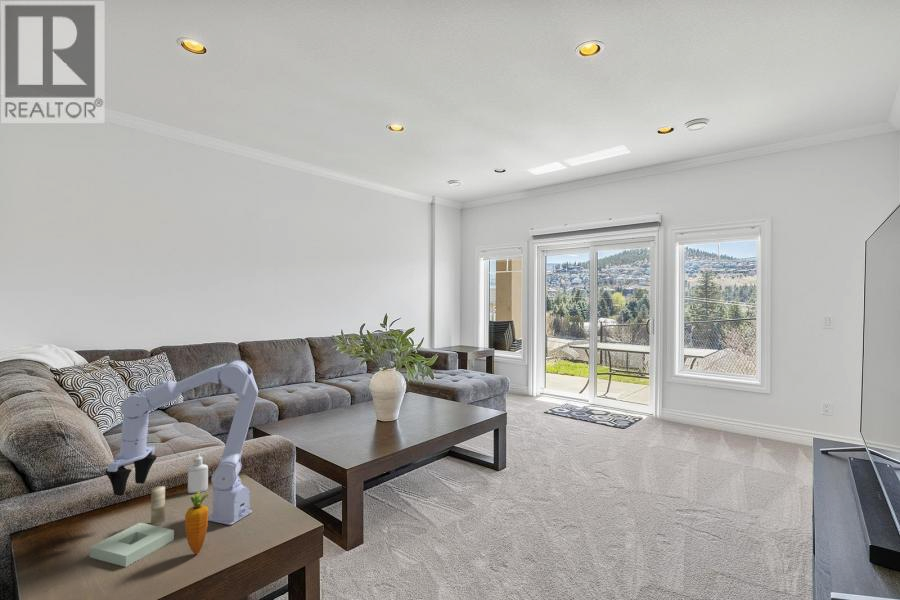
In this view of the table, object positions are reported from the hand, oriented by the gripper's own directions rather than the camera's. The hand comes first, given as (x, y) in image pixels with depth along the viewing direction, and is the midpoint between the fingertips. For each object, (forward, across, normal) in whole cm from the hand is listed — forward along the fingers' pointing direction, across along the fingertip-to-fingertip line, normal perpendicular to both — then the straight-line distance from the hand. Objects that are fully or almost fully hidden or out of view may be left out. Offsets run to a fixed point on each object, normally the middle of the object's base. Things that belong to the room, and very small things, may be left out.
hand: (129, 488), depth 116 cm
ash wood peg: (+10, -3, +6) cm, 12 cm away
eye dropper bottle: (+10, -24, +5) cm, 26 cm away
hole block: (+10, +9, +9) cm, 16 cm away
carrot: (+10, +11, +26) cm, 30 cm away
